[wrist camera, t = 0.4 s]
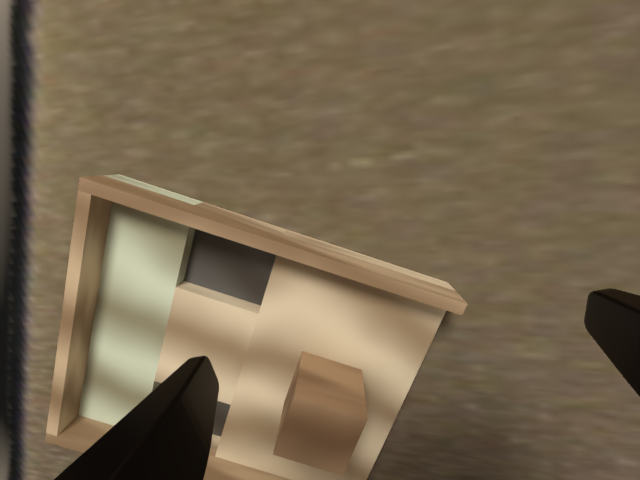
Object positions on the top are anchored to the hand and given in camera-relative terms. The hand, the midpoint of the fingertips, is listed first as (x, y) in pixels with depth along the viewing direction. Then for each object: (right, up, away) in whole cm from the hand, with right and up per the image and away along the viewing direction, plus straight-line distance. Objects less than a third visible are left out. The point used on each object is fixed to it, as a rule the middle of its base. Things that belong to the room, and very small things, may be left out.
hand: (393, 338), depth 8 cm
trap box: (-7, -6, +17) cm, 20 cm away
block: (-2, -8, +16) cm, 18 cm away
